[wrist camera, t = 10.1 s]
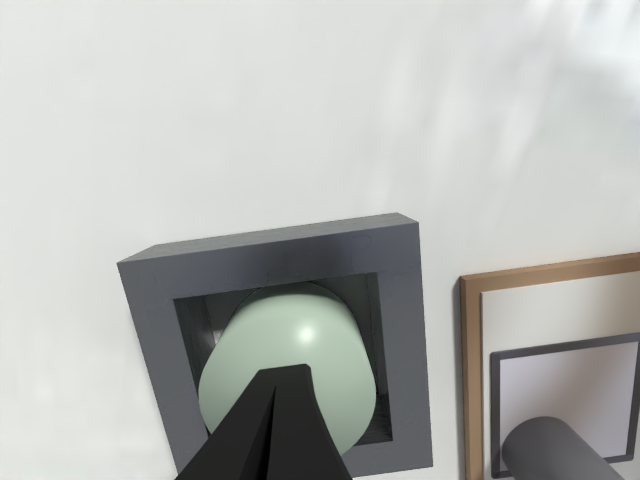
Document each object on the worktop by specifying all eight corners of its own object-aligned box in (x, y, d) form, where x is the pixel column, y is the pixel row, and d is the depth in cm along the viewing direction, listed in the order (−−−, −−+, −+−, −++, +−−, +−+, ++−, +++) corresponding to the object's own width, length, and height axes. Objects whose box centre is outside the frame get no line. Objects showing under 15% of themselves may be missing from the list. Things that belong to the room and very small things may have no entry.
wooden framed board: (718, 241, 10) (741, 245, 10) (679, 472, 13) (697, 486, 12) (459, 276, 10) (468, 282, 10) (466, 501, 13) (473, 516, 12)
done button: (352, 272, 10) (367, 306, 7) (366, 392, 11) (383, 458, 8) (213, 290, 10) (179, 331, 7) (239, 409, 11) (218, 481, 8)
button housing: (397, 212, 10) (418, 222, 8) (412, 417, 12) (433, 466, 10) (154, 245, 10) (116, 262, 8) (206, 445, 12) (185, 500, 10)
